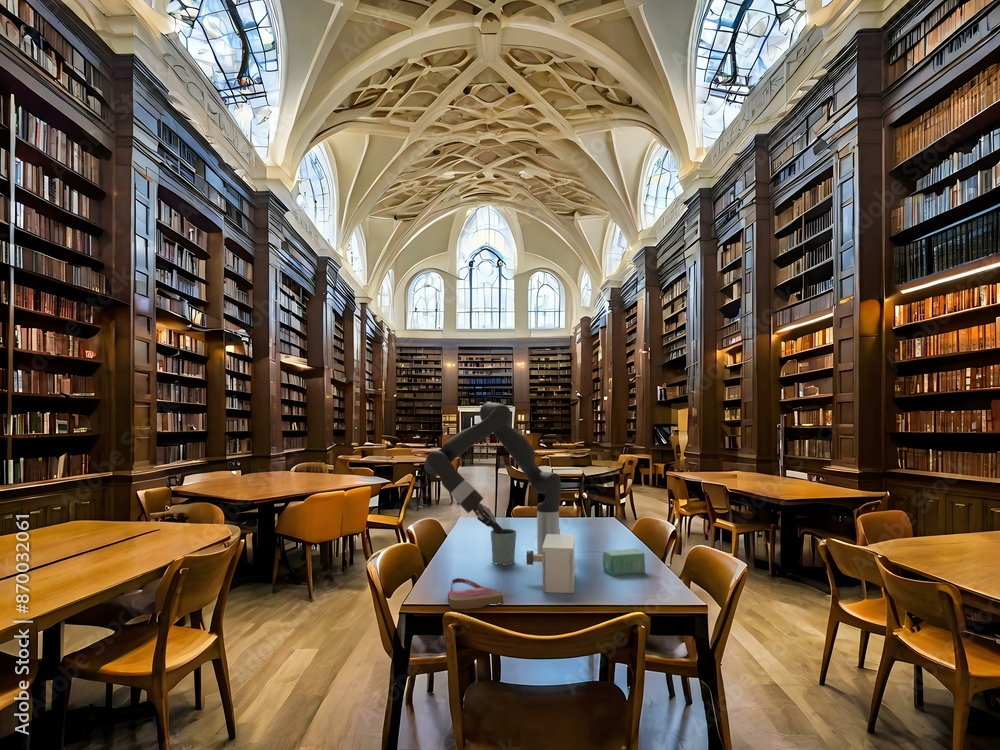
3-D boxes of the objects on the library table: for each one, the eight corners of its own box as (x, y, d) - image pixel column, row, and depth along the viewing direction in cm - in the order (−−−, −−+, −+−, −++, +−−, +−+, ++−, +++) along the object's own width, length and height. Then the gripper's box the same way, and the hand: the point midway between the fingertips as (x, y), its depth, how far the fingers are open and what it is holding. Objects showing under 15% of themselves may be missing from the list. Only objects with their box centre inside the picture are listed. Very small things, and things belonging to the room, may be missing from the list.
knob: (527, 562, 193) (527, 549, 194) (550, 563, 192) (550, 550, 193) (526, 566, 189) (526, 552, 189) (550, 567, 188) (549, 553, 188)
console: (546, 573, 201) (546, 533, 202) (574, 574, 199) (574, 534, 200) (542, 591, 179) (542, 547, 180) (573, 593, 177) (573, 548, 179)
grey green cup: (507, 558, 224) (507, 527, 225) (521, 563, 215) (521, 531, 216) (485, 561, 218) (485, 530, 219) (499, 567, 210) (499, 534, 211)
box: (602, 570, 204) (602, 550, 205) (635, 568, 208) (635, 548, 208) (611, 576, 197) (611, 554, 198) (645, 573, 200) (645, 552, 201)
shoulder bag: (506, 605, 167) (479, 582, 194) (506, 595, 168) (479, 573, 194) (452, 612, 162) (431, 587, 188) (452, 601, 162) (431, 578, 188)
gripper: (470, 490, 190) (506, 528, 187) (477, 486, 203) (511, 521, 200) (455, 506, 190) (490, 544, 187) (463, 501, 203) (496, 536, 200)
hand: (501, 532), depth 193 cm, fingers closed
